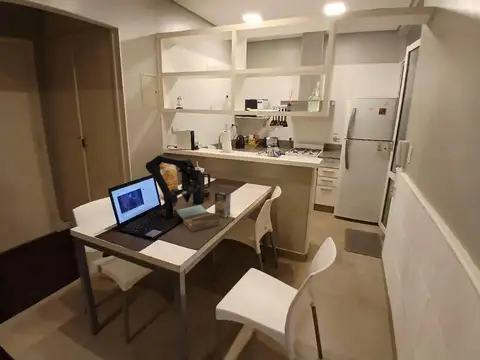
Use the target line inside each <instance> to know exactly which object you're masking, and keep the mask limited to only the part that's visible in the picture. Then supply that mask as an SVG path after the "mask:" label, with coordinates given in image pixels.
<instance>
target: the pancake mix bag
mask: <svg viewBox="0 0 480 360" xmlns="http://www.w3.org/2000/svg"><path fill="white" fill-rule="evenodd" d="M160 173H161V175H162V176H163V178H164V180H165V182H166V184H167V186H168V188H169V190H170V191H171V190H172V189H176V188H177V189H179V185H178V184H179V183H178V182H179V181H178V171H177V166H175V165H172V164H167V163H161V164H160ZM162 195H163V194H162ZM177 197H179V195H177ZM162 200H163V201H164V195H163V197H162Z"/></svg>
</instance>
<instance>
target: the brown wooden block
mask: <svg viewBox="0 0 480 360" xmlns="http://www.w3.org/2000/svg"><path fill="white" fill-rule="evenodd" d="M182 222H183V225H184V226H185V227H187V228H188V229H189V231H191V232H197V231H201V230H205V229H209V228H212V227H216V225H217V226H219V225H220V216H219V213H215V212H214V213H208V214H203V215H199V216H194V217H190V218H186V219H182Z"/></svg>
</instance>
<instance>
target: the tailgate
mask: <svg viewBox="0 0 480 360" xmlns="http://www.w3.org/2000/svg"><path fill="white" fill-rule="evenodd" d="M176 212H177V214H178V215H179V216H180V217H181V219H182V220H183V219H186V218H190V217H194V216H199V215H203V214H208V211H207V210H206V209H205V208H204V206H203V205H201V204H198V205H194V206H189V207H185V208H180V209H176Z"/></svg>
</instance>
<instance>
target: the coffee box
mask: <svg viewBox="0 0 480 360" xmlns="http://www.w3.org/2000/svg"><path fill="white" fill-rule="evenodd" d="M231 195H232V193H231V192H228V191H224V190H219V191H218V190H217V191H216V192H214V213H219V217H220V216H221V218H225V219H226V218H228V217H230V216H231V201H232V200H231V198H232V197H231ZM227 216H228V217H227Z"/></svg>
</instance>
